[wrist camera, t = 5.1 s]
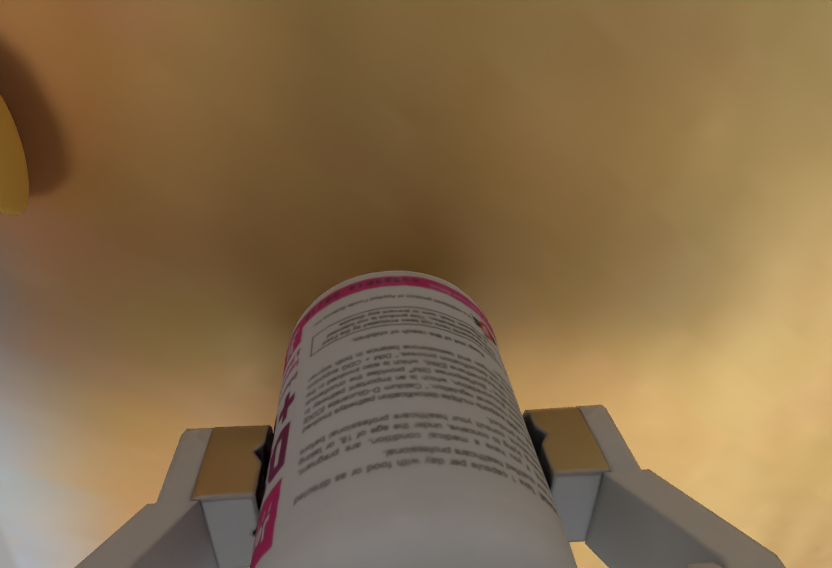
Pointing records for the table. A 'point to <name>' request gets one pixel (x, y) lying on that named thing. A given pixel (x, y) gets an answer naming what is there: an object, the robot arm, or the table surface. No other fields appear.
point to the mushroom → (12, 166)
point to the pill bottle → (402, 440)
